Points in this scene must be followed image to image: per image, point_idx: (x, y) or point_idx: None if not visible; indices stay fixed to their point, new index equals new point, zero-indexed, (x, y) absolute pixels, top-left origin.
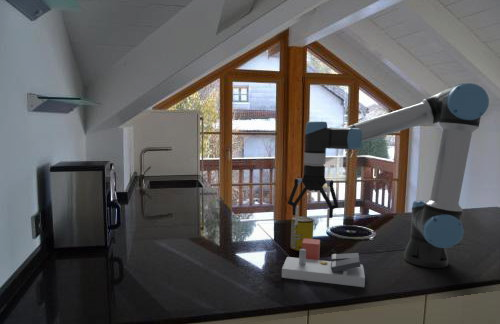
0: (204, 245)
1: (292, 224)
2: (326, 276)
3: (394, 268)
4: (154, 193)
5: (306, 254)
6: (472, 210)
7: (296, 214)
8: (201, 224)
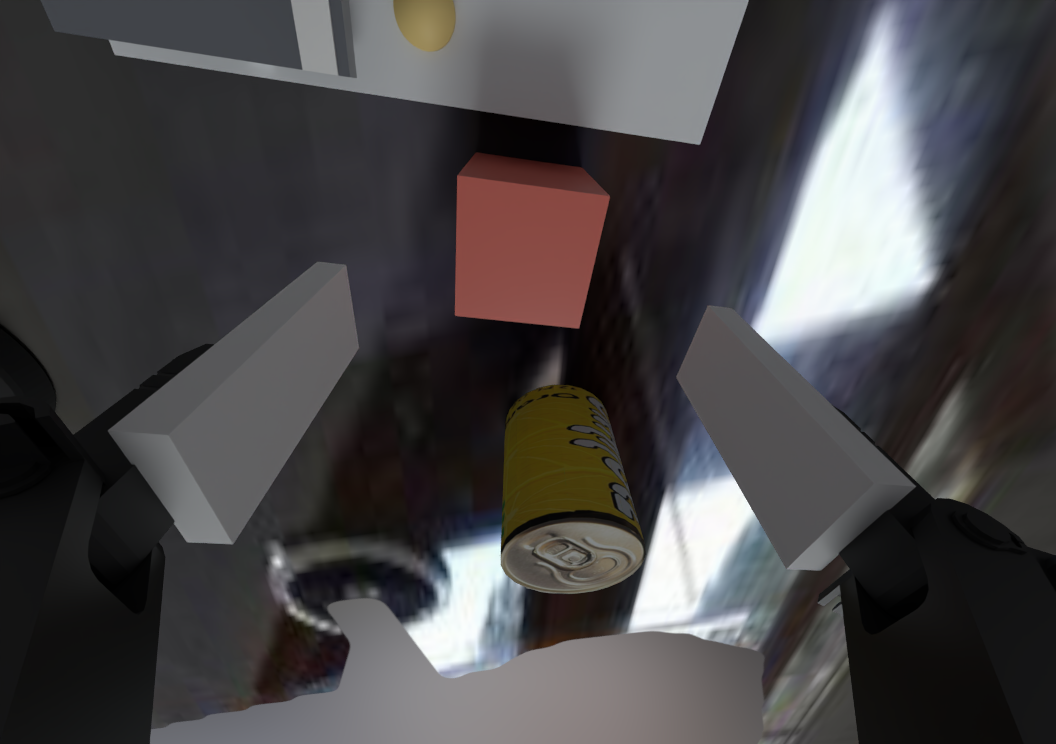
0: (1038, 374)
1: (634, 510)
2: None
3: (18, 211)
4: None
5: (559, 173)
6: None
7: (796, 385)
8: None
